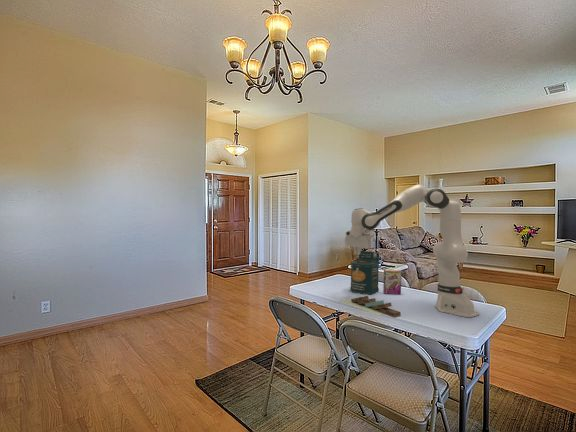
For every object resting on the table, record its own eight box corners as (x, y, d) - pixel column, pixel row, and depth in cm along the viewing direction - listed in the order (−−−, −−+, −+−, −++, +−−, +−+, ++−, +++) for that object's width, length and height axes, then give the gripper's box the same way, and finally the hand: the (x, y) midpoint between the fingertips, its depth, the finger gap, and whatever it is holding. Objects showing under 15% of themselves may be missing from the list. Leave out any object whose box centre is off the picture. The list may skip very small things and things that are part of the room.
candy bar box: (384, 294, 213) (385, 270, 213) (383, 292, 218) (383, 269, 218) (401, 294, 212) (401, 271, 212) (399, 292, 217) (399, 269, 217)
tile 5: (357, 301, 194) (368, 298, 186) (351, 302, 191) (363, 300, 184) (356, 297, 195) (368, 295, 187) (351, 299, 192) (362, 296, 184)
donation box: (378, 291, 219) (379, 252, 219) (367, 296, 208) (368, 254, 207) (358, 287, 230) (358, 250, 230) (347, 291, 218) (347, 252, 218)
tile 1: (385, 310, 176) (400, 315, 168) (379, 312, 173) (394, 317, 165) (385, 307, 176) (400, 312, 168) (379, 308, 173) (394, 313, 165)
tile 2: (378, 308, 180) (391, 306, 172) (372, 309, 177) (385, 307, 169) (377, 304, 181) (390, 302, 173) (371, 306, 178) (384, 303, 170)
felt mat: (396, 311, 176) (396, 310, 176) (378, 316, 168) (378, 315, 168) (356, 298, 202) (356, 297, 202) (339, 301, 194) (339, 301, 194)
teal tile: (371, 305, 185) (384, 303, 177) (365, 307, 182) (378, 305, 174) (370, 302, 185) (383, 300, 177) (364, 303, 183) (377, 301, 175)
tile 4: (364, 303, 190) (376, 301, 182) (358, 304, 187) (370, 302, 179) (363, 300, 190) (375, 298, 182) (357, 301, 187) (369, 299, 180)
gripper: (373, 234, 194) (373, 255, 194) (350, 232, 211) (350, 252, 211) (366, 234, 191) (366, 256, 191) (343, 232, 208) (343, 252, 208)
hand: (357, 254), depth 201 cm, fingers closed
